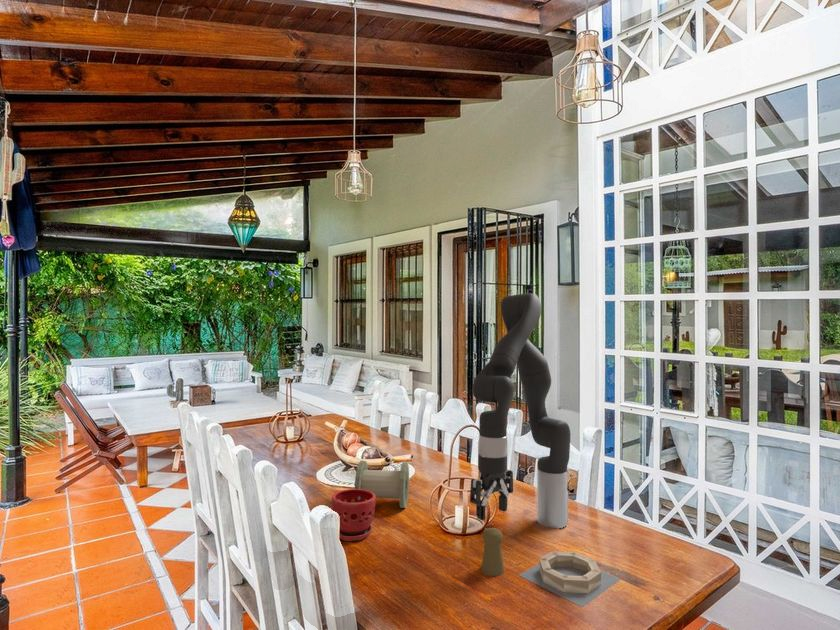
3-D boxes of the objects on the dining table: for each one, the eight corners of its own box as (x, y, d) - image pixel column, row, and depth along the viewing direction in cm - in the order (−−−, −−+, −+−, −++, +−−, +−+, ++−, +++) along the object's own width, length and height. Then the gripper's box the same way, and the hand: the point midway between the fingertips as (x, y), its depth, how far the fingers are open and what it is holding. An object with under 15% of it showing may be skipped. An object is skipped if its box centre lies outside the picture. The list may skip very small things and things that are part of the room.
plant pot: (368, 546, 143) (368, 504, 143) (325, 542, 146) (325, 501, 146) (380, 526, 156) (380, 488, 156) (340, 523, 159) (340, 485, 158)
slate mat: (558, 554, 138) (558, 552, 138) (621, 581, 125) (621, 578, 125) (518, 577, 127) (518, 575, 127) (582, 609, 113) (582, 607, 113)
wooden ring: (560, 557, 136) (561, 546, 136) (609, 578, 125) (609, 566, 125) (529, 575, 126) (529, 563, 126) (579, 599, 116) (579, 587, 116)
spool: (409, 498, 180) (409, 457, 180) (403, 515, 165) (403, 470, 165) (364, 496, 181) (364, 455, 181) (354, 513, 166) (354, 468, 166)
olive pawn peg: (488, 563, 133) (488, 523, 133) (508, 571, 130) (508, 529, 129) (476, 573, 129) (476, 530, 129) (496, 581, 125) (496, 537, 125)
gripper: (499, 444, 136) (498, 503, 136) (463, 454, 127) (462, 517, 127) (521, 450, 131) (520, 512, 131) (485, 460, 121) (484, 527, 121)
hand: (492, 514), depth 129 cm, fingers open, 8 cm apart
